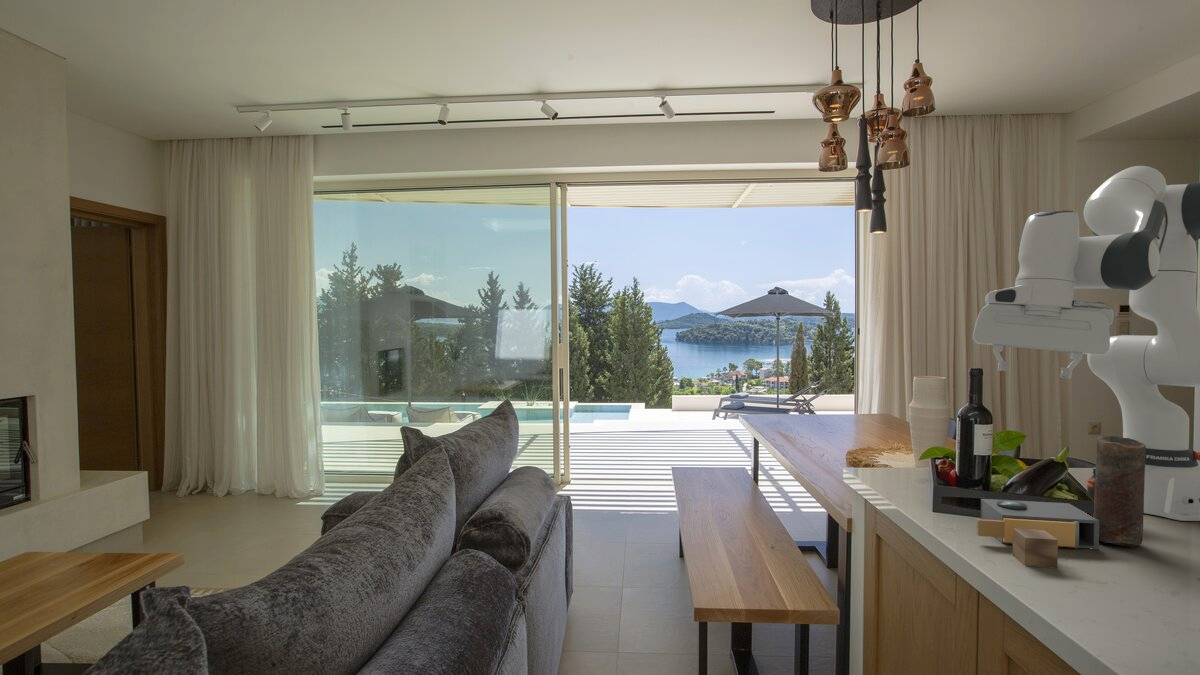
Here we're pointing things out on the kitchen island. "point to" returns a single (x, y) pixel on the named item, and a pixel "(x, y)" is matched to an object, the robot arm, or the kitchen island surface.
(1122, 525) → the candle
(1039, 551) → the walnut block
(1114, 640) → the kitchen island surface
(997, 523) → the side door
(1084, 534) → the grey box
